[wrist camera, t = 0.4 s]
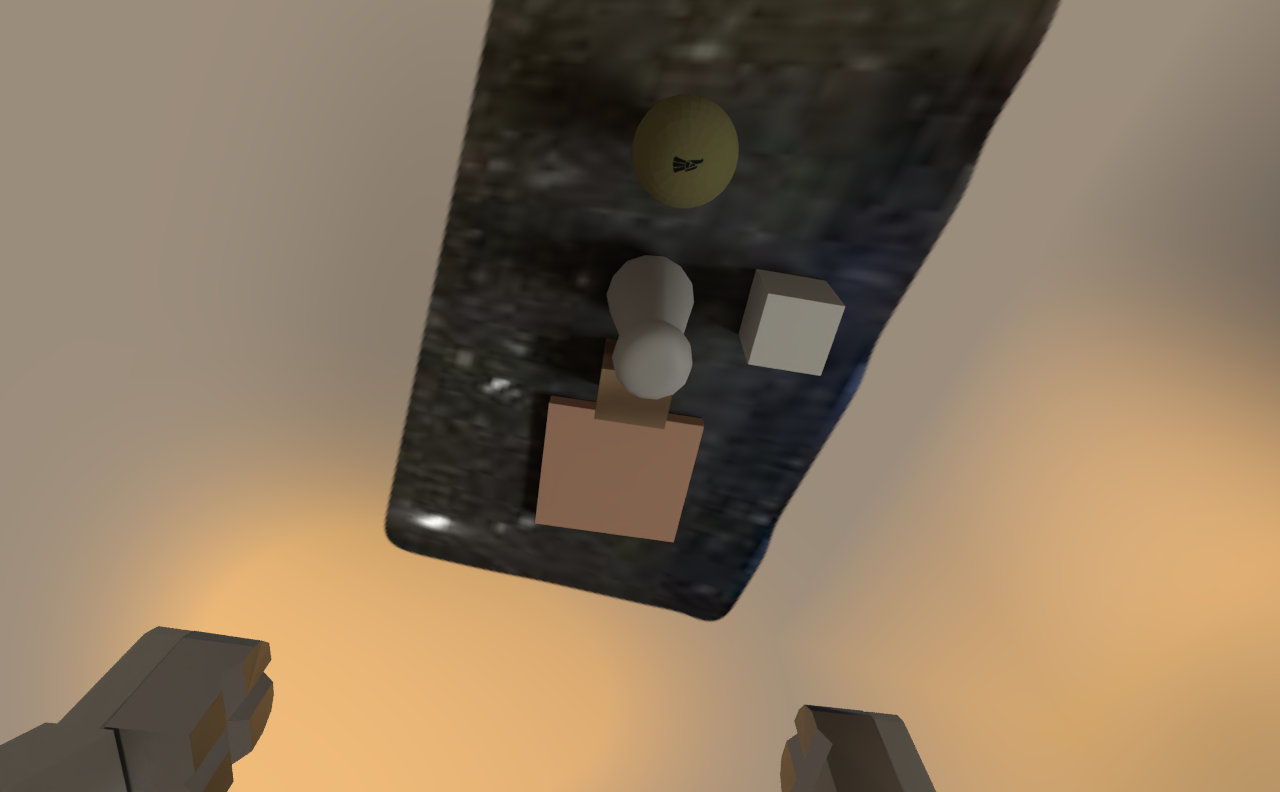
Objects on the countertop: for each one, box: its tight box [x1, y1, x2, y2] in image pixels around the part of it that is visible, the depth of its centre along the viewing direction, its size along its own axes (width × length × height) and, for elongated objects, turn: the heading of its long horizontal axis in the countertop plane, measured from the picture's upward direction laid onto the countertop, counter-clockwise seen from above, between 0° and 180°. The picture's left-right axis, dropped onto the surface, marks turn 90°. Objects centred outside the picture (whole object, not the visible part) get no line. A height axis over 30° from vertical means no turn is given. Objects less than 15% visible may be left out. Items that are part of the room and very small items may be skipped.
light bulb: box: [632, 94, 739, 208], centre depth 35 cm, size 6×6×10 cm
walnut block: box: [594, 338, 672, 429], centre depth 45 cm, size 4×5×5 cm
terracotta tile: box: [535, 395, 704, 542], centre depth 51 cm, size 12×12×1 cm
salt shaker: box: [607, 255, 694, 399], centre depth 38 cm, size 6×6×13 cm
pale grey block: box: [739, 269, 845, 376], centre depth 43 cm, size 5×5×5 cm
